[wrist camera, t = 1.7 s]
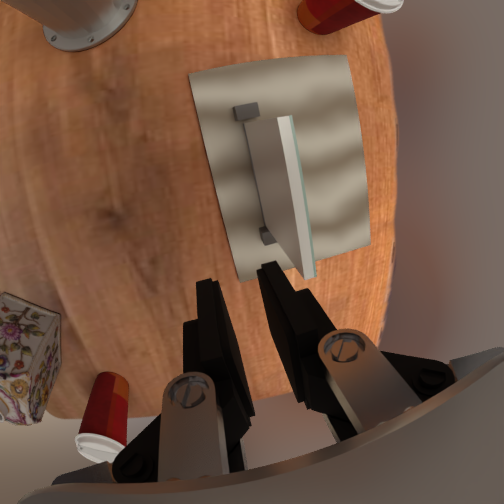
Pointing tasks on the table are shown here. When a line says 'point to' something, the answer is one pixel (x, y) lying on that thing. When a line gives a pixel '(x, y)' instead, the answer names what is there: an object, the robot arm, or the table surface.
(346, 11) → the paper cup
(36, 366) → the decorative jar
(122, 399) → the coffee cup
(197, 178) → the table surface
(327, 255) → the tile board
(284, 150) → the glazed tile
